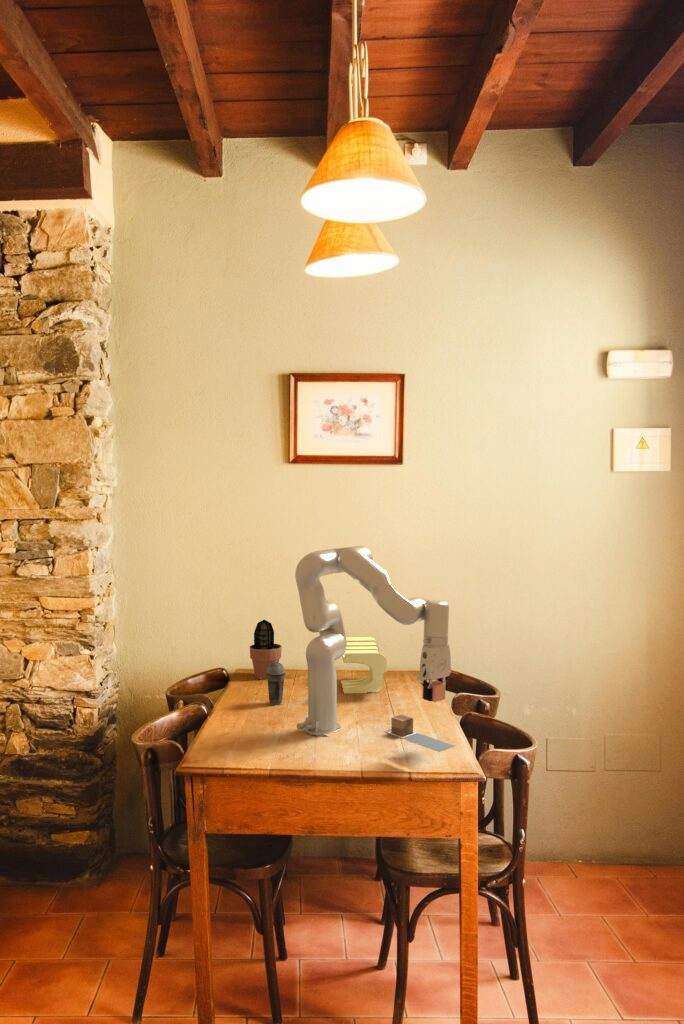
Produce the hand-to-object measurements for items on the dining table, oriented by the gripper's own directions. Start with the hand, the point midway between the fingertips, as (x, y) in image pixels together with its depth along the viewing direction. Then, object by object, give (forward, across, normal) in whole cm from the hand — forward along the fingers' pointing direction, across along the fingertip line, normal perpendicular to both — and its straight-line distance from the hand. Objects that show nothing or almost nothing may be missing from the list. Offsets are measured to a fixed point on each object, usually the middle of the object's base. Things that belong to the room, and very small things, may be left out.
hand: (433, 697), depth 224 cm
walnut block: (+15, 0, +13) cm, 20 cm away
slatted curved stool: (+17, +29, +63) cm, 71 cm away
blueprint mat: (+16, 0, +6) cm, 17 cm away
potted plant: (+18, +10, +103) cm, 105 cm away
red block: (0, 0, 0) cm, 0 cm away
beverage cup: (+18, -10, +69) cm, 71 cm away
